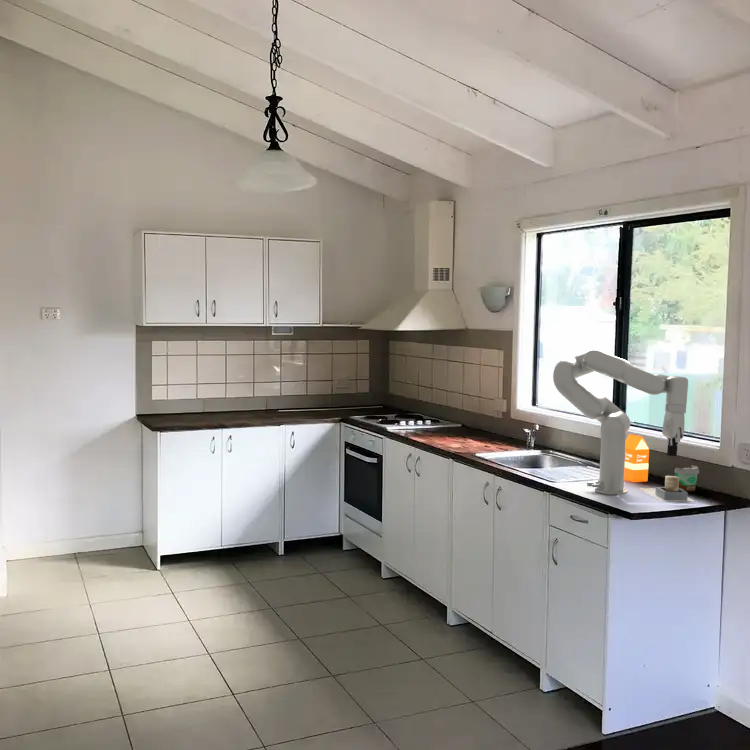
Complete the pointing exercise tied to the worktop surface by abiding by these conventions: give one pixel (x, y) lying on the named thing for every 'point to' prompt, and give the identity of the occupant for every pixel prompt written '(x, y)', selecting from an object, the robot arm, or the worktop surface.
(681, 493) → the grey square tray
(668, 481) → the plug
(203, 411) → the worktop surface
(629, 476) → the orange juice
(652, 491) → the board
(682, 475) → the food container
